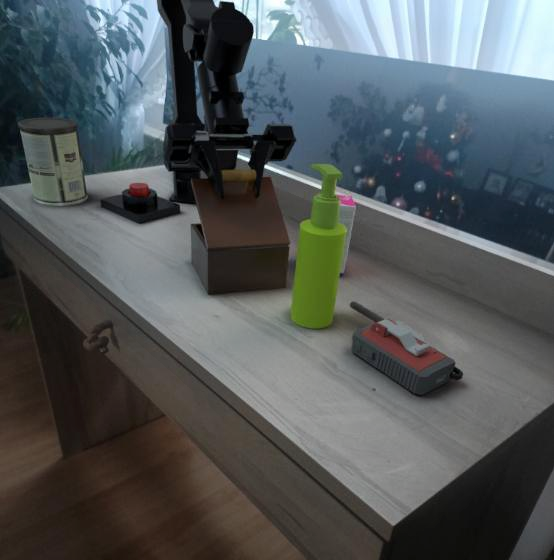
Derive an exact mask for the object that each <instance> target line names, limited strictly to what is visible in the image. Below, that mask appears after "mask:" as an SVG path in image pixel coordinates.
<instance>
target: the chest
mask: <svg viewBox="0 0 554 560" xmlns="http://www.w3.org/2000/svg"><path fill="white" fill-rule="evenodd" d="M190 252H191V255H190V257H191V265H192V267H193V268H194V271H195V272H196V273H195V274H196V275H197V277H198V278H199V280H200V283H201V284H202V286H203V288H204V290H205V292H206V294H207V295H209V296H210V295H219V294H220V295H222V294H231V293H242V292H243V293H244V292H251V291H253V292H254V291H263V290H272V289H273V290H274V289H283V288H286V287H287V278H288V269H289V257H290V245H286V246H272V247H257V248H242V249H227V250H212V251H207V247H206V243H205V238H204V234H203V230H202V226H201V222H199V223H190Z"/></svg>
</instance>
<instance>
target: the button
mask: <svg viewBox="0 0 554 560" xmlns="http://www.w3.org/2000/svg"><path fill="white" fill-rule="evenodd" d="M128 189H130V195H134V196H146V195H149V189H150V188H149V184H147V183H146V182H145V183H144V182H132V183H130V184H129V185H128Z"/></svg>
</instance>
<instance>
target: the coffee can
mask: <svg viewBox="0 0 554 560" xmlns="http://www.w3.org/2000/svg"><path fill="white" fill-rule="evenodd" d="M17 126H18V128H19V131H20V137H21V141H22V146H23V151H24V155H25V160H26V165H27V170H28V175H29V179H30V184H31V189H32V194H33V200H34V202H35V203H38V204H39V205H43V206H47V207H70V206H76V205H80V204H83V203H84V202H86V201H87V200H88V199H89V196H88V192H87V185H86V179H85V178H86V177H85V171H84V165H83V157H82V150H81V143H80V136H79V123H78V122H77V121H75V120H73V119H71V118H63V117H30V118H24V119H22V120H20V121H18V122H17Z"/></svg>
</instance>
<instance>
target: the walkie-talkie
mask: <svg viewBox="0 0 554 560" xmlns="http://www.w3.org/2000/svg"><path fill="white" fill-rule="evenodd" d="M349 308H350V309H352V310H354V311H356V312H357V313H359V314H361V315H362V316H364V317H366V318H367V319H369V320H370V321H372V322H374V323H372V324H370V325H367V326H363V327H358V328H357V329H356V330H354V332H353V334H352V336H351V339H352V340H351V341H352V343H351V348H350V350H351V352H352V353H353V354H354V355H356V356H358V357H359V358H361V359H362V360H364V361H365V362H367V363H368V364H370V365H371V366H373V367H374V368H375V369H377V370H379V372H382V373H383V374H385V375H386V376H387V377H389V378H390V379H391V380H393V381H395V382H396V383H398V384H399V385H401V386H402V387H404V388H405V389H407V390H408V391H410V392H411V393H413V394H415V395H421V396H424V395H425V394H426V393H429V392H431V391H433V390H435V389H436V388H438V387H440V386H442V385H444V384H447V383H448V382H450V381H451V380H454V381H461V380H462V379H463V376H464V372H463V371H462V370H461V369H460V368H458V367H456V361H455V359H453V358H452V357H450V356H448V355H446V354H445V353H443V352H441V351H439V350H438V349H436V348H434V347H433V346H431V345H430V344H428V343H427V342H426V340H425V338H424V336H423V333H420V332H419V331H417V330H415V329H414V328H412V327H410V326H408V325H406V324H405V323H404V322H403V321H402V320H396V321H394V320H391V319H390V318H384V317H382V316H380V315H379V314H377V313H375V312H374V311H372V310H370V309H368V308H367V307H365V306H363V305H362V304H361V303H358V302H357V301H354V300H353V301H351V302H350V303H349Z"/></svg>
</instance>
